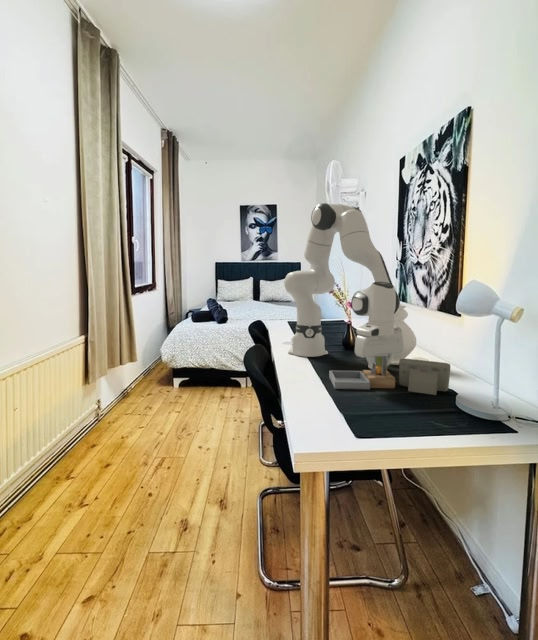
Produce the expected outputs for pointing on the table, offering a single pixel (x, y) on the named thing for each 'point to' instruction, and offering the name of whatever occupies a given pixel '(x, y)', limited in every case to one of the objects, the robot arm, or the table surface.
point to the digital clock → (424, 376)
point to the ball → (378, 369)
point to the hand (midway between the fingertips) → (378, 366)
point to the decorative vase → (407, 334)
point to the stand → (380, 380)
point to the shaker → (384, 365)
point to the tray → (349, 380)
